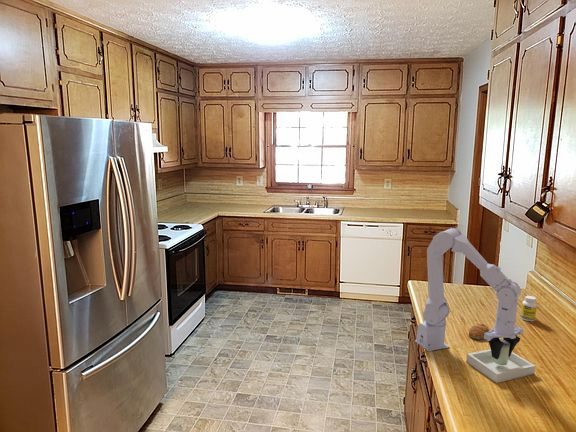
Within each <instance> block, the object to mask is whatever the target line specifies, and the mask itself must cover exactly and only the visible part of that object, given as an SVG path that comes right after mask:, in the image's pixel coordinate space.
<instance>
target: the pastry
mask: <svg viewBox="0 0 576 432" xmlns="http://www.w3.org/2000/svg"><path fill="white" fill-rule="evenodd" d="M489 331H490V328H489V327H488V326H487V325H486V324H484V323H477V324H475V325H472V326H471V327H470V328H469V331H468V337H469V338H471V339H474V340H482V339H484V333H487V332H489ZM484 340H485V339H484Z"/></svg>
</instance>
